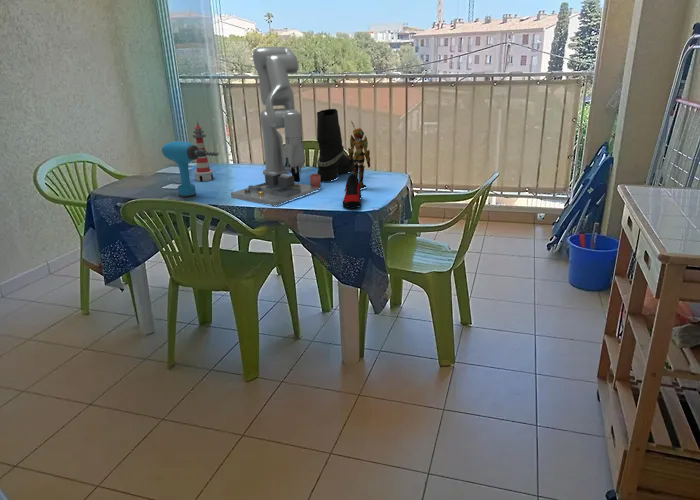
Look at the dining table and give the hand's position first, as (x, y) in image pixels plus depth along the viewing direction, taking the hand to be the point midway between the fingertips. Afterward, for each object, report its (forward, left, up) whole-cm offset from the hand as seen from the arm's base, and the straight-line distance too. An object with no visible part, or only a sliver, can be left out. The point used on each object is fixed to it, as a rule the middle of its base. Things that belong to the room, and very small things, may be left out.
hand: (296, 181), depth 231 cm
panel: (+13, 0, -3) cm, 14 cm away
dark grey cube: (+6, -8, -1) cm, 10 cm away
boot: (-30, 0, -3) cm, 30 cm away
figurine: (-14, +25, -3) cm, 29 cm away
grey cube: (+6, 0, -1) cm, 6 cm away
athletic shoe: (+7, +36, -3) cm, 37 cm away
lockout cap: (-4, +8, -3) cm, 10 cm away
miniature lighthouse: (+11, -50, -3) cm, 51 cm away
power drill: (+34, -28, -3) cm, 44 cm away
